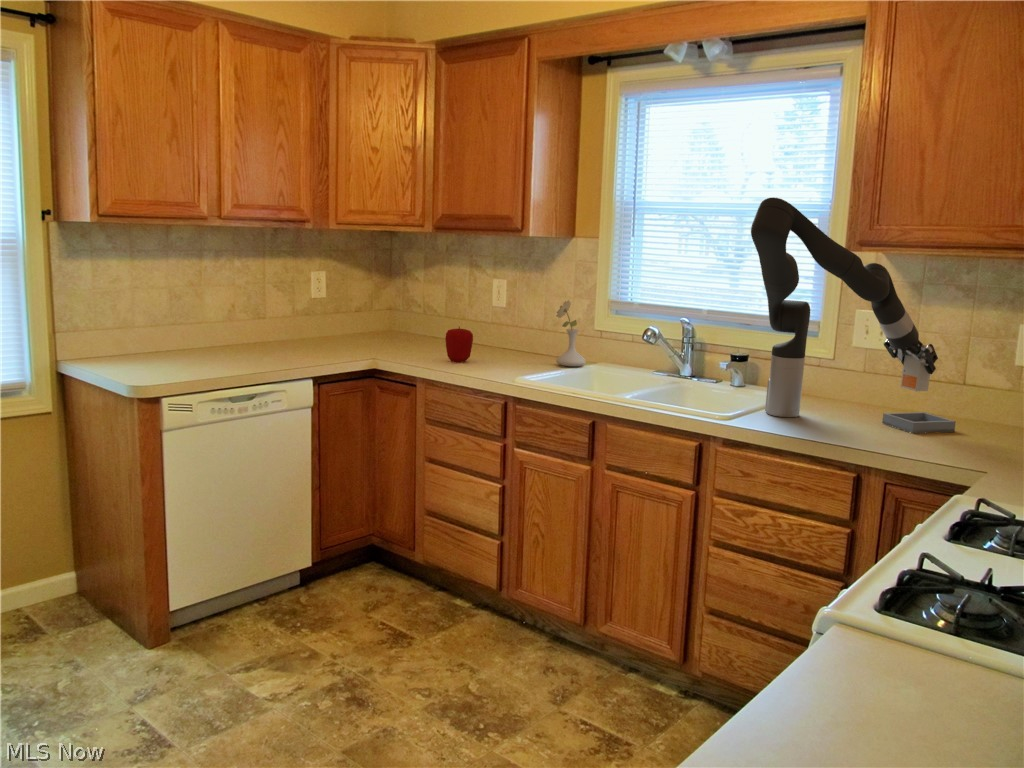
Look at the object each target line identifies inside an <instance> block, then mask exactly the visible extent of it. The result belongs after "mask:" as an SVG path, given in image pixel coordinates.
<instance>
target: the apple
mask: <svg viewBox="0 0 1024 768" xmlns="http://www.w3.org/2000/svg"><path fill="white" fill-rule="evenodd" d="M473 341H474V334H473V333H472V331H471V330H469V329H466V328H461V327H460V326H458V328H451V329H448V330H447V331H446V333H445V350H446V354H447V357H448V359H449V360H450V361H451V362H452V363H455V364H457V363H459V364H460V363H464V362H466V361H467V360H468V359H469V358H470V357H471V352H472V348H473V343H474V342H473Z"/></svg>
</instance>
